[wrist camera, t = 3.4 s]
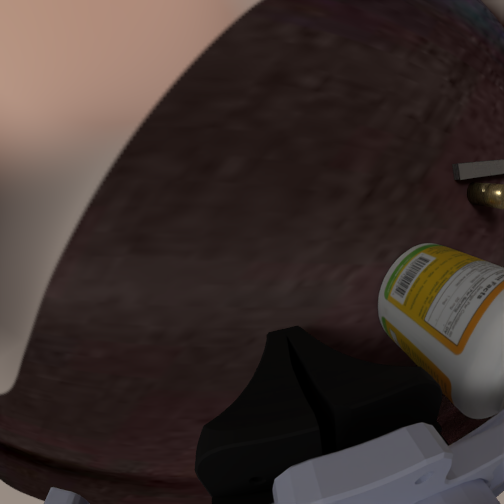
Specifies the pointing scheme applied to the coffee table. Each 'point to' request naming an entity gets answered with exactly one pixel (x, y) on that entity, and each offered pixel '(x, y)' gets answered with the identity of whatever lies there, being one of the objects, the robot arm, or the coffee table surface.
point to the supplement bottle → (449, 323)
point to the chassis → (482, 192)
